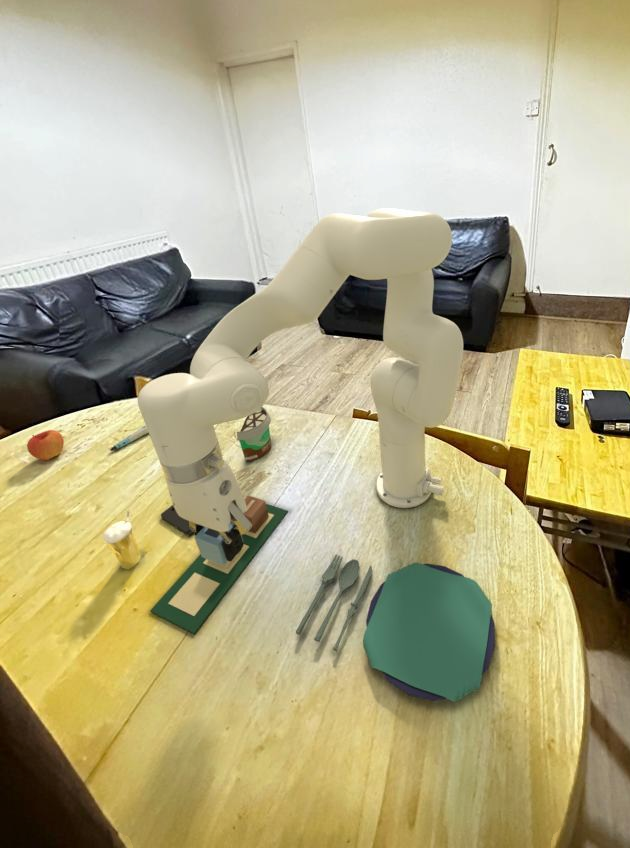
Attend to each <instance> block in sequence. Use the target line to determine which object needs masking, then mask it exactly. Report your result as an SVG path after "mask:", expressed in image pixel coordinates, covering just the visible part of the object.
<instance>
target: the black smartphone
mask: <svg viewBox="0 0 630 848" xmlns="http://www.w3.org/2000/svg"><path fill="white" fill-rule="evenodd" d="M160 517H161V519H163V520H164V521H165V522H167V523H169V524H170V525H171V526H173V527H174V528H176V529H178V530H179V531H181V532H182V533H183V534H185V535H186V536H189V537H191V536H192V535H194V534H195V532H193V531H192V530H191V529H190V526H189V522H188V521H187V520H186V519H183V518H182V517H180V516H179V515H178V514H177V512H176V510H175V508H174V506H173V504H172V505H170V506H169V507H168V508H167V509H165V510H163V512H162V513H161V514H160Z"/></svg>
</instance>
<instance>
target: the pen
mask: <svg viewBox="0 0 630 848" xmlns="http://www.w3.org/2000/svg"><path fill="white" fill-rule="evenodd" d="M147 434H149V432H148V430H147V427H146V425H144V426H143V427H141V428H140V429H138V430H137V431H135V432H134V433H132V434H129V435H127V436H126V437H124V439H122V440H120V441H118V442H117V443H116V444H114V445H113V446H112V447H111V448H110V449H109V452H112V451H115V450H118V449H120V448H122V447H124V446H127V445H129V444H131V443H132V442H134V441H136V440H137V439H139V438H142V437H143V436H145V435H147Z"/></svg>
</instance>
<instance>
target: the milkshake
mask: <svg viewBox="0 0 630 848" xmlns="http://www.w3.org/2000/svg"><path fill="white" fill-rule="evenodd" d="M102 539H103V541H104V544H106V546H107V548H109V550H110V551H111V552H112V555H113V556H114V557H115V558H116V560H117V562H118V564H119V565H120V566H121V567H122V568H123V570H126V569H127V570H129V569H131V568H133V567H136V565H138V563H140V561H141V557H142V556H141V553H140V550H139V547H138V544H137V540H136V537H135V534H134V530H133V526H132V523H131V522H130V510H127V511H126V520H121V521H120V520H119V521H117V522H115V523H113V524H111V525H110V526H108V527H107V528H106V530H104V532H103V534H102Z"/></svg>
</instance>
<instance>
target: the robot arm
mask: <svg viewBox="0 0 630 848" xmlns="http://www.w3.org/2000/svg"><path fill="white" fill-rule="evenodd" d="M452 246H453V233H452V229H451V227H450V224H449V223H448V221H446V219H445V218H443V217H442V216H441V215H439V214H436V213H433V212H429V211H417V210H407V209H401V208H392V207H391V208H390V207H389V208H387V207H385V208H378V209H377V208H376V209H374V210H371V211H370V212H369V213H368V214H367V215H366V216H362V215H355V214H347V213H330V214H328V215H325V216H323V217H322V218H321V219H319V220H318V221H317V223H315V224H314V226H313V227H312V228H311V230H310V231H309V232H308V233H307V235H305V237H304V239H303V240H302V241H301V243H300V244H299V245H298V246H297V248H296V249H295V250H294V251H293V253H292V254H291V255H290V257H289V258H288V259H287V260H286V262H285V263H284V264H283V265H282V267H281V268H280V269H279V271H278V272H277V273H276V275H275V276H274V277H273V279H271V281H270V282H269V283H268V284H267V285H266V286H265V287H264V288H263V289H261V290H260V291H257V292H256V293H254V294H253V295H251V296H250V297H248V298H247V299H245V300H244V301H243V302H241V303H240V304H238V305H237V306H236V307H234V308H233V309H231V310H230V311H229V312H228V313H227V314H226V315H224V316H223V317H222V318H221V319H220V320H219V322H218V323H217V324H216V325H215V327H213V328H212V330H211V331H210V333H209V334H208V335H207V336H206V338H205V339H204V340H203V341H202V343H200V345H199V347H198V348H197V350H196V351H195V353H194V355H193V357H192V360H191V362H190V367H189V373H186V372H177V373H176V372H175V373H169V374H165V375H162V376H159V377H156V378H154V379H152V380H151V381H149V382H148V383H146V384H145V385H144V386H143V387H142V388H141V389H140V391H139V393H138V395H137V405H138V409H139V412H140V414H141V416H142V419H143V422H144V424H145V426H146V427H147V430H148V432H149V433H148V435H149V437H150V439H151V440H150V441H151V443H152V445H153V448H154V451H155V453H156V456H157V458H158V461H159V463H160V466H161V469H162V472H163V474H164V477H165V483H166V487H167V490H168V494H169V498H170V501H171V503H172V505H173V506H174V508H175V510H176V512H177V514H178V515H179V516H180V517H182V518H183V519H186V520H187V521H188V522H189V526H190V529H191V530H192V531H193V532H194V537H195V536H196V535H197V534H198V533H199V532H200V530H201V529H202V528H203V527H207V528H210V529H213V530H216V531H218V532H219V533H220V535H221V537H222V539H223V542H222V547H223V550H224V553H225V556H226V559H227V561H230V562H231V561H232V560H233V559H234V557H235V556H236V555H237V554H238V553H239V552H240V551H241V549H242V547H243V545H244V544H243V540H242V537H241V535H242V534H245V533H247V532H248V531H249V529H250V528H251V527H252V524H251V522H250V521H249V520H248V519H247V518H246V517H245V516H244V514H243V513H244V512H245V511H246V509H247V507H246V503H245V500H244V499H245V496H244V493H243V491H242V489H241V486H240V483H239V481H238V479H237V477H236V475H235V473H234V471H233V469H232V467H231V466H230V464H229V463H228V461H227V460H225V459H224V456H223V453H222V450H221V446H220V444H219V440H218V437H217V433H216V430H215V425H219V424H223V423H224V424H225V423H228V422H233V421H236V420H237V421H238V420H240V419H243V418H247V417H248V416H249V415H251V414H253V413H255V412H257V411H258V410H259V409H260V408H261V407H263V406H265V404H266V402H267V400H268V398H269V395H270V386H269V383H268V380H267V378H266V377H265V376H264V375H263V374H262V372H261V371H260V370H258V368H257V367H256V366H254V365H252V364H251V363H250V362H249V361H248V360H247V359H248V358H249V357H250V355H251V354H252V353H253V352H254V350H255V349H256V348H257V347H258V346H259V345H260V344H261V343H262V342H263V341H264V340H265V339H266V338H268V337H269V336H271V335H273V334H275V333H277V332H279V331H282V330H285V329H290V328H296V327H300V326H301V327H302V326H305V325H309V324H311V323H313V322H315V321H316V320H318V318H319V317H320V316H321V314H322V313H323V311H324V310H325V309H326V307H327V306H328V305H329V303H330V302H331V300H332V299H333V298H334V297H335V295H336V294H337V292H339V290H340V288H341V287H342V285H343V284H344V283H345V282H346V280H347V278H348V277H350V276H353V277H355V278H359V279H362V280H367V281H378V280H379V281H380V280H386V282H387V283H386V284H387V288H386V300H385V301H386V302H385V308H384V309H385V310H384V318H383V319H384V320H383V330H382V340H383V344H384V346H385V347H386V348H387V349H388V351H390V352H392V353H393V354H395V355H397V356H399V357H387V358H384V359H382V360H381V361H380V362H378V363H377V364H376V365H375V366H374V368H373V370H372V373H371V376H370V391H371V396H372V400H373V403H374V406H375V409H376V414H377V422H378V434H379V435H378V437H379V446H380V447H379V449H380V461H381V472H380V474H379V475H378V476H377V478H376V482H375V483H376V484H375V486H376V493H377V495H378V497H379V498H380V499H381V500H382V501H383V503H386V504H387V505H389V506H391V507H394V508H399V509H409V508H414V507H417V506H420V505H422V504H424V503H425V502H426V501H427V500H428V499H429V498H430V497H431V495H432V494H434V495H437V496H440V497H443V496H444V493H445V486H443V485H441V484H442V481H443V478H440V477H436V476H432V474H430V467H428V466H426V444H425V443H426V437H425V436H426V433H425V432H426V428H431V429H434V428H437V427H440V426H442V425H443V424H444V423H445V422H446V421H447V419H449V417H450V415H451V413H452V411H453V408H454V405H455V400H456V397H457V390H458V385H459V379H460V372H461V366H462V361H463V355H464V354H463V353H464V337H463V335H462V334H463V333H462V331H461V330H460V328H459V326H458V325H457V324H456V323H455V322H454V321H452V320H450V319H448V318H446V317H443V316H440V315H437V314H435V313H434V312H433V300H434V290H435V289H434V288H435V280H434V279H435V278H434V273H433V269H434V268H436V267H438V266H439V265H440V264H442V262H444V261H445V259H446V258H447V256H448V255H449V253H450V251H451V248H452ZM400 357H401V358H400ZM230 523H231V525H232V527H233V528H231V530H230V531H229V525H230ZM228 531H229V532H228Z"/></svg>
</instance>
